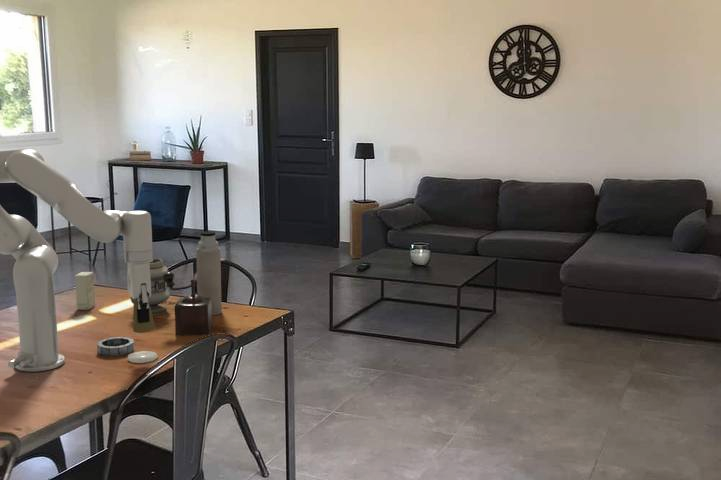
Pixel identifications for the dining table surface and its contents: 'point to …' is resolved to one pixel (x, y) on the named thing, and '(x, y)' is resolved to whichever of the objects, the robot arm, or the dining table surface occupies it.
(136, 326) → the cork
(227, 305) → the dining table surface
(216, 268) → the thermos bottle
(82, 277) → the skincare box
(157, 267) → the apothecary jar
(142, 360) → the pebble
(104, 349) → the holder ring
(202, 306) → the pepper mill
